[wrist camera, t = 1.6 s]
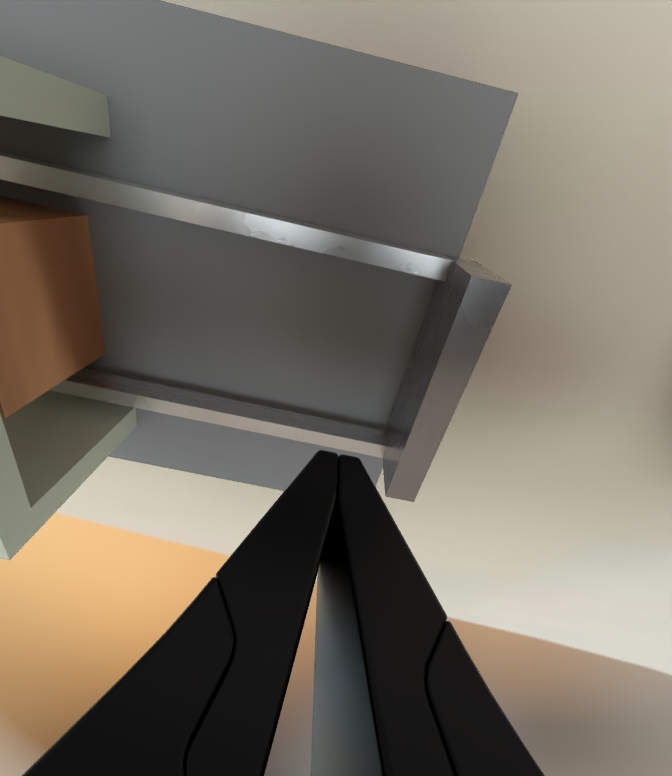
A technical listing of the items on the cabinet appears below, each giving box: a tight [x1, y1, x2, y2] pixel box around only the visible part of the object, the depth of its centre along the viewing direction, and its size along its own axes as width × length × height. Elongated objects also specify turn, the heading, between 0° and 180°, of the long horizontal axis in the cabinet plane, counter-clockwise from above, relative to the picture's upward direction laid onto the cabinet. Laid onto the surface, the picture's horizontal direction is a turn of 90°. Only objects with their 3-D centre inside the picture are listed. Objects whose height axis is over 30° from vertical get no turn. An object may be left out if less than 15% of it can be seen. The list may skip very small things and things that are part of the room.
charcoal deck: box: [0, 0, 518, 491], centre depth 14 cm, size 26×16×2 cm, turn 78°
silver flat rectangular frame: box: [0, 151, 511, 502], centre depth 11 cm, size 18×8×3 cm, turn 78°
